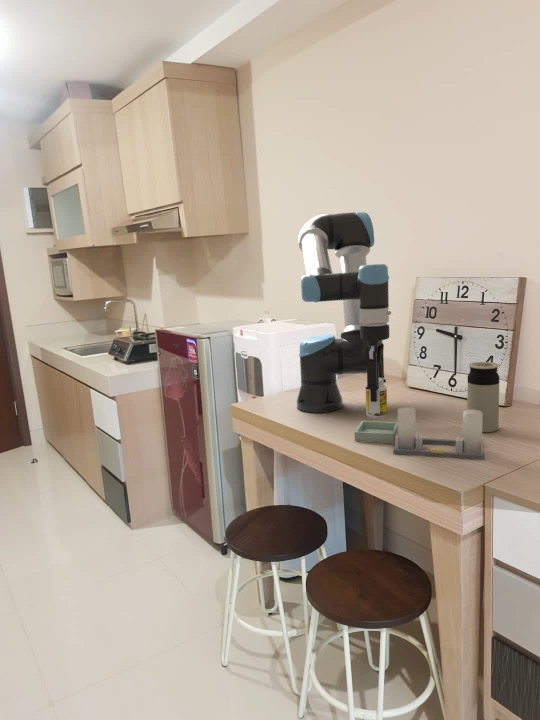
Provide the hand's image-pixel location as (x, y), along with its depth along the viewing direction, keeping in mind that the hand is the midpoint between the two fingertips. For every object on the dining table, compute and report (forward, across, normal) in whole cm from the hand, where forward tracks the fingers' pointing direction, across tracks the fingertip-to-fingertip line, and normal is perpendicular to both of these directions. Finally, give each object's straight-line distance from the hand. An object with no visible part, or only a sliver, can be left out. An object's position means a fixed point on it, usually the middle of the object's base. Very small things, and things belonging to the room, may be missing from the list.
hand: (376, 409), depth 147 cm
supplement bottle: (+2, 0, 0) cm, 2 cm away
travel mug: (+8, +11, -27) cm, 30 cm away
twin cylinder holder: (+8, -7, -16) cm, 20 cm away
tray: (+8, 0, 0) cm, 8 cm away
